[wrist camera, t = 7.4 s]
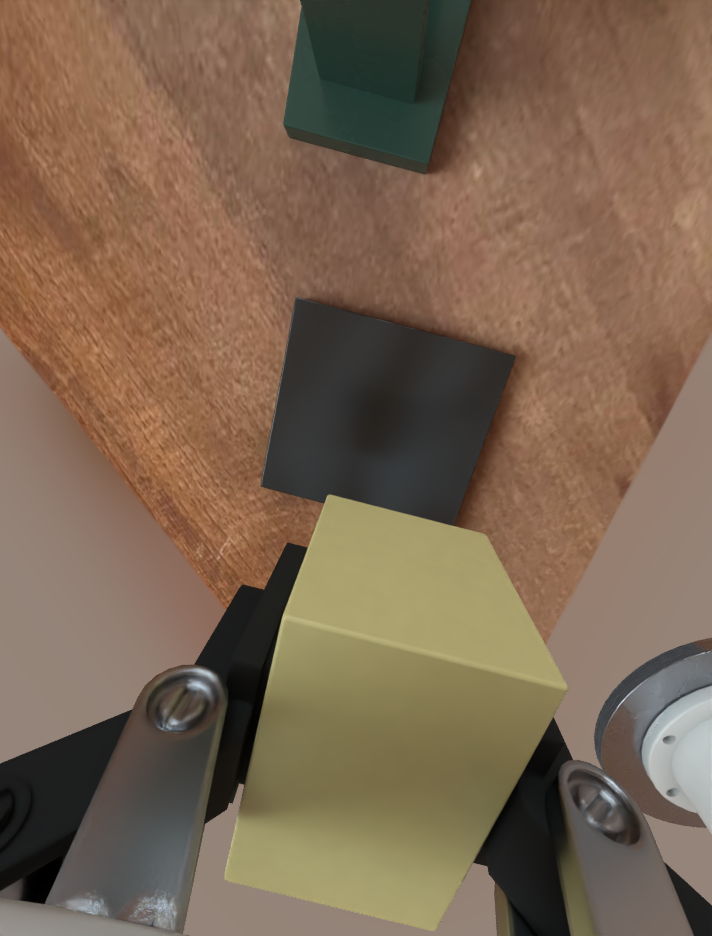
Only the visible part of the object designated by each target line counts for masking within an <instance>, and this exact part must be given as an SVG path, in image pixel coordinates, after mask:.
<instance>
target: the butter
mask: <svg viewBox="0 0 712 936" xmlns="http://www.w3.org/2000/svg"><path fill="white" fill-rule="evenodd" d="M567 691H568V686H567V684H566V682H565V680H564V678H563V676H562V675H561V673H560V671H559V669H558V667H557V665H556V664H555V662H554V660H553V658H552V656H551V654H550V652H549V650H548V649H547V647H546V645H545V643H544V641H543V639H542V638H541V636H540V634H539V632H538V630H537V628H536V626H535V625H534V623H533V621H532V619H531V617H530V615H529V613H528V612H527V610H526V608H525V606H524V604H523V602H522V601H521V599H520V597H519V595H518V593H517V591H516V589H515V588H514V586H513V584H512V582H511V580H510V578H509V576H508V575H507V573H506V571H505V569H504V567H503V565H502V563H501V562H500V560H499V558H498V556H497V554H496V552H495V551H494V549H493V547H492V545H491V543H490V541H489V539H488V538H487V536H486V535H485V534H483V533H479V532H475V531H471V530H467V529H463V528H459V527H455V526H451V525H447V524H443V523H439V522H436V521H432V520H428V519H424V518H420V517H416V516H412V515H408V514H404V513H400V512H396V511H392V510H389V509H385V508H381V507H377V506H373V505H369V504H365V503H361V502H357V501H353V500H349V499H346V498H342V497H338V496H334V495H328V496H327V498H326V501H325V503H324V506H323V509H322V511H321V514H320V517H319V520H318V522H317V525H316V528H315V530H314V533H313V536H312V538H311V541H310V544H309V546H308V549H307V552H306V554H305V557H304V560H303V562H302V565H301V568H300V570H299V573H298V576H297V579H296V581H295V584H294V587H293V589H292V592H291V595H290V597H289V600H288V603H287V605H286V608H285V611H284V613H283V616H282V620H281V625H280V629H279V634H278V638H277V642H276V647H275V651H274V656H273V660H272V665H271V669H270V674H269V678H268V682H267V687H266V691H265V696H264V700H263V705H262V709H261V714H260V718H259V723H258V727H257V731H256V736H255V740H254V745H253V749H252V754H251V758H250V763H249V767H248V772H247V776H246V780H245V785H244V789H243V794H242V798H241V803H240V807H239V812H238V816H237V820H236V825H235V829H234V834H233V839H232V843H231V847H230V852H229V856H228V861H227V865H226V869H225V874H224V878H225V880H226V881H230V882H234V883H238V884H242V885H246V886H250V887H255V888H258V889H262V890H267V891H271V892H275V893H279V894H283V895H288V896H291V897H295V898H299V899H303V900H307V901H312V902H316V903H320V904H324V905H328V906H332V907H336V908H340V909H344V910H348V911H353V912H357V913H361V914H365V915H369V916H373V917H377V918H381V919H385V920H389V921H394V922H398V923H402V924H406V925H410V926H414V927H418V928H422V929H426V930H430V931H435V930H436V929H437V927H438V926H439V923H440V922H441V920H442V918H443V917H444V914H445V913H446V911H447V909H448V907H449V906H450V904H451V902H452V900H453V898H454V897H455V895H456V893H457V891H458V889H459V887H460V886H461V883H462V882H463V880H464V878H465V877H466V875H467V873H468V871H469V869H470V867H471V866H472V864H473V862H474V860H475V858H476V857H477V855H478V853H479V851H480V849H481V847H482V846H483V844H484V842H485V840H486V838H487V837H488V835H489V833H490V831H491V829H492V827H493V826H494V824H495V822H496V820H497V818H498V817H499V815H500V813H501V811H502V809H503V807H504V806H505V804H506V802H507V800H508V798H509V797H510V795H511V793H512V791H513V789H514V787H515V786H516V784H517V782H518V780H519V778H520V777H521V775H522V773H523V771H524V769H525V767H526V766H527V764H528V762H529V760H530V758H531V757H532V755H533V753H534V751H535V749H536V748H537V746H538V744H539V742H540V740H541V738H542V737H543V735H544V733H545V731H546V729H547V728H548V726H549V724H550V722H551V720H552V718H553V717H554V715H555V713H556V710H557V709H558V707H559V706H560V704H561V702H562V700H563V698H564V697H565V695H566V693H567Z"/></svg>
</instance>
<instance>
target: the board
mask: <svg viewBox="0 0 712 936" xmlns="http://www.w3.org/2000/svg"><path fill="white" fill-rule="evenodd" d="M515 358H516V356H515V355H512V354H508V353H504V352H500V351H497V350H493V349H489V348H486V347H482V346H478V345H474V344H471V343H467V342H463V341H459V340H456V339H452V338H448V337H444V336H441V335H437V334H433V333H429V332H426V331H422V330H418V329H414V328H411V327H407V326H403V325H399V324H396V323H392V322H388V321H385V320H381V319H377V318H373V317H370V316H366V315H362V314H358V313H355V312H351V311H347V310H343V309H340V308H336V307H332V306H328V305H325V304H321V303H317V302H313V301H310V300H306V299H302V298H298V297H296V299H295V304H294V309H293V315H292V320H291V325H290V331H289V336H288V341H287V347H286V352H285V357H284V363H283V368H282V373H281V379H280V384H279V389H278V395H277V400H276V405H275V411H274V416H273V422H272V427H271V432H270V438H269V443H268V448H267V454H266V459H265V464H264V470H263V475H262V480H261V487H264V488H268V489H272V490H276V491H280V492H283V493H287V494H291V495H295V496H299V497H302V498H306V499H310V500H314V501H318V502H321V503H325V501H326V498H327V496H328V495H334V496H338V497H342V498H346V499H349V500H353V501H357V502H361V503H365V504H369V505H373V506H377V507H381V508H385V509H389V510H392V511H396V512H400V513H404V514H408V515H412V516H416V517H420V518H424V519H428V520H432V521H436V522H439V523H443V524H447V525H451V526H453V525H454V523H455V520H456V517H457V515H458V512H459V509H460V506H461V504H462V501H463V498H464V496H465V493H466V490H467V487H468V485H469V482H470V479H471V477H472V474H473V471H474V469H475V466H476V463H477V460H478V458H479V455H480V452H481V450H482V447H483V444H484V441H485V439H486V436H487V433H488V431H489V428H490V425H491V422H492V420H493V417H494V414H495V412H496V409H497V406H498V404H499V401H500V398H501V395H502V393H503V390H504V387H505V385H506V382H507V379H508V376H509V374H510V371H511V368H512V366H513V363H514V360H515Z"/></svg>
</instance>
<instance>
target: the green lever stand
mask: <svg viewBox="0 0 712 936" xmlns="http://www.w3.org/2000/svg"><path fill="white" fill-rule="evenodd" d="M300 1H301V5H302V8H301V14H300V21H299V27H298V33H297V40H296V46H295V52H294V59H293V65H292V71H291V78H290V84H289V91H288V97H287V103H286V110H285V116H284V122H283V125H284V127H285V129H286V132H287V134H288V136H289V137H290V138H293V139H297V140H300V141H304V142H308V143H311V144H315V145H319V146H323V147H326V148H330V149H334V150H337V151H341V152H345V153H348V154H352V155H356V156H360V157H363V158H367V159H371V160H374V161H378V162H382V163H385V164H389V165H393V166H397V167H400V168H404V169H408V170H411V171H415V172H419V173H422V174H426V173H427V170H428V167H429V163H430V159H431V155H432V151H433V147H434V144H435V140H436V136H437V132H438V128H439V124H440V121H441V117H442V113H443V109H444V105H445V101H446V98H447V94H448V90H449V86H450V82H451V79H452V75H453V71H454V67H455V63H456V59H457V56H458V52H459V48H460V44H461V40H462V36H463V33H464V29H465V25H466V21H467V17H468V13H469V10H470V6H471V2H472V0H300Z"/></svg>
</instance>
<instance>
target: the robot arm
mask: <svg viewBox="0 0 712 936" xmlns="http://www.w3.org/2000/svg"><path fill="white" fill-rule="evenodd" d="M306 552H307V547H303V546H299V545H295V544H291V543H287V544H286V546H285V548H284V550H283V552H282V554H281V556H280V558H279V560H278V562H277V565H276V567H275V569H274V571H273V573H272V575H271V577H270V579H269V581H268V583H267V585H266V587H265V589H264V590H263V589H259V588H255V587H251V586H247V585H242V586H241V587H240V588H239V590H238V591H237V593H236V595H235V596H234V598H233V600H232V602H231V603H230V605H229V607H228V608H227V610H226V612H225V613H224V615H223V617H222V619H221V621H220V622H219V624H218V625H217V627H216V629H215V630H214V632H213V634H212V635H211V637H210V639H209V640H208V642H207V644H206V646H205V647H204V649H203V651H202V652H201V654H200V656H199V657H198V659H197V661H196V662H195V664H194V665H181V666H177V667H174V668H170V669H168V670H166V671H164V672H162V673H160V674H158V675H156V676H155V677H154V678H153V679H152V680H151V681H150V682H148V683H147V684H146V685H145V687H144V688H143V690H142V692H141V693H140V695H139V696H138V698H137V700H136V703H135V705H134V707H133V709H132V710H130V711H127V712H125V713H122V714H120V715H118V716H115V717H113V718H110V719H108V720H105V721H103V722H100V723H98V724H95V725H93V726H91V727H88V728H86V729H83V730H81V731H79V732H76V733H74V734H71V735H69V736H66V737H64V738H62V739H59V740H57V741H54V742H52V743H49V744H47V745H44V746H42V747H39V748H37V749H35V750H32V751H30V752H28V753H25V754H22V755H20V756H18V757H16V758H13V759H10V760H8V761H5V762H3V763H1V764H0V936H188V935H184V934H183V931H184V926H185V921H186V916H187V911H188V906H189V901H190V896H191V892H192V887H193V882H194V877H195V872H196V866H197V861H198V857H199V852H200V847H201V842H202V837H203V832H204V827H205V824H206V823H207V822H209V821H210V820H211V819H213V818H215V817H216V816H218V815H219V814H221V813H222V812H224V811H225V810H227V808H228V804H229V803H233V801H234V798H235V794H236V791H237V788H238V785H239V783H240V784H244V785H245V780H246V776H247V772H248V767H249V763H250V758H251V754H252V749H253V745H254V740H255V736H256V731H257V727H258V723H259V718H260V714H261V709H262V705H263V700H264V696H265V691H266V687H267V682H268V678H269V674H270V669H271V665H272V660H273V656H274V651H275V647H276V642H277V638H278V634H279V629H280V625H281V620H282V616H283V613H284V611H285V608H286V605H287V603H288V600H289V597H290V595H291V592H292V589H293V587H294V584H295V581H296V579H297V576H298V573H299V570H300V568H301V565H302V562H303V560H304V557H305V554H306ZM641 752H642V763H643V765H644V768H645V770H646V773H647V775H648V776H649V778H650V779H651V781H652V782H653V784H654V786H655V787H656V789H657V790H658V791H659V792H660V793H661V795H662V796H663V797H665V798H666V799H667V800H669V801H670V802H672V803H673V804H675V805H677V806H679V807H681V808H684V809H686V810H688V811H691V812H694V813H698V815H699V816H700V818H701V819H702V821H703V822H704V824H705V825H706V827H707V828H708V829H709V831H710V832H711V834H712V685H711V686H708V687H705V688H702V689H699V690H696V691H694V692H692V693H690V694H688V695H686V696H684V697H682V698H680V699H679V700H677V701H676V702H674V703H673V704H671V705H670V706H668V707H667V708H666V709H665V710H664V711H663V712H662V713H661V714H660V715H659V716H657V718H656V719H655V721H654V722H653V723H652V725H651V726H650V727H649V729H648V731H647V734H646V736H645V738H644V740H643V746H642V751H641ZM473 863H476V864H481V865H485V866H487V867H488V872H489V875H490V876H491V877H492V878H493V880H494V881H495V891H494V895H495V910H496V927H497V936H712V905H711V904H710V903H708V902H707V901H706V900H705V899H704V898H703V897H702V896H701V895H700V894H699V893H697V892H696V891H695V890H694V889H693V888H692V887H691V886H690V885H689V884H688V883H687V882H685V881H684V880H683V879H682V878H681V877H680V876H679V875H678V874H677V873H676V872H675V871H673V870H672V869H671V868H670V867H669V866H668V865H667V864H666V863H665V862H664V861H663V859H662V856H661V854H660V852H659V849H658V847H657V844H656V842H655V839H654V837H653V834H652V832H651V830H650V827H649V825H648V822H647V821H646V819H645V817H644V815H643V813H642V811H641V809H640V807H639V806H638V805H637V803H636V802H635V801H634V799H633V798H632V797H631V795H630V794H629V793H628V792H627V791H626V790H625V789H624V788H623V787H622V786H621V785H620V784H619V783H618V782H617V781H616V780H615V779H614V778H612V777H611V776H610V775H608V774H607V773H606V772H604V771H603V770H601V769H600V768H598V767H596V766H594V765H592V764H590V763H587V762H584V761H580V760H573V759H572V756H571V754H570V752H569V750H568V748H567V746H566V743H565V741H564V739H563V737H562V735H561V732H560V730H559V728H558V726H557V724H556V721H555V719H554V717H553V718H552V720H551V722H550V724H549V726H548V728H547V729H546V731H545V733H544V735H543V737H542V738H541V740H540V742H539V744H538V746H537V748H536V749H535V751H534V753H533V755H532V757H531V758H530V760H529V762H528V764H527V766H526V767H525V769H524V771H523V773H522V775H521V777H520V778H519V780H518V782H517V784H516V786H515V787H514V789H513V791H512V793H511V795H510V797H509V798H508V800H507V802H506V804H505V806H504V807H503V809H502V811H501V813H500V815H499V817H498V818H497V820H496V822H495V824H494V826H493V827H492V829H491V831H490V833H489V835H488V837H487V838H486V840H485V842H484V844H483V846H482V847H481V849H480V851H479V853H478V855H477V857H476V858H475V860H474V862H473Z"/></svg>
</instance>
